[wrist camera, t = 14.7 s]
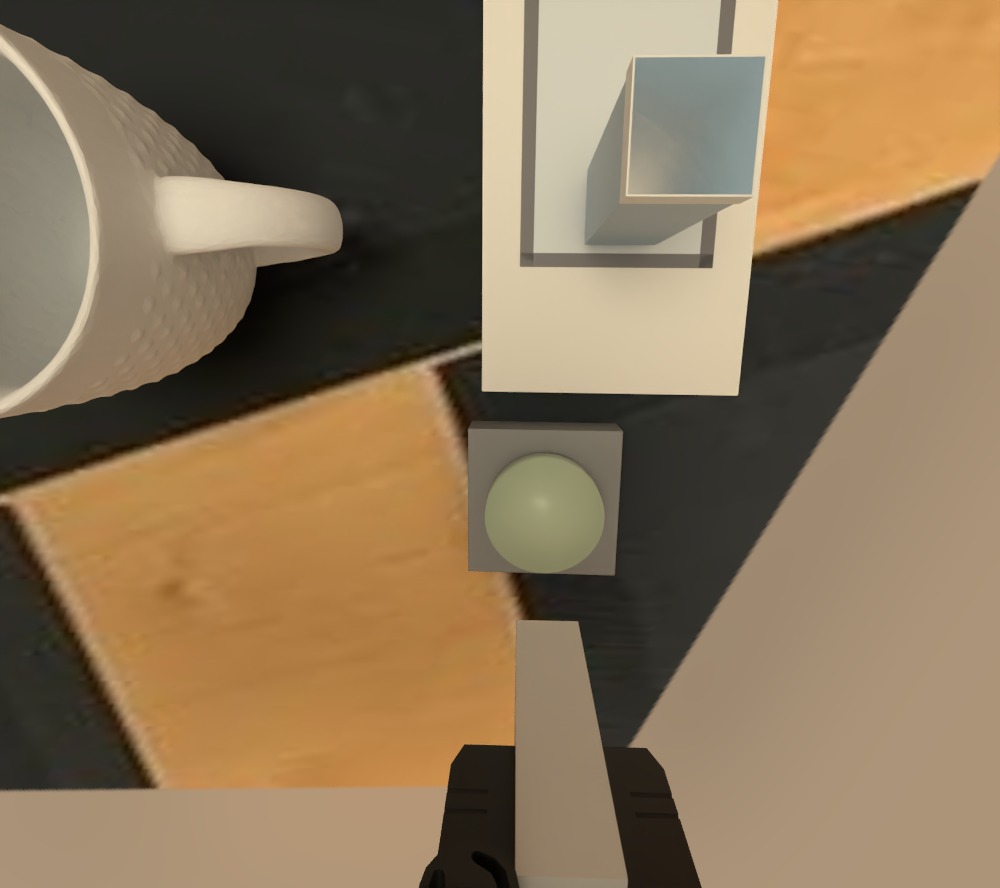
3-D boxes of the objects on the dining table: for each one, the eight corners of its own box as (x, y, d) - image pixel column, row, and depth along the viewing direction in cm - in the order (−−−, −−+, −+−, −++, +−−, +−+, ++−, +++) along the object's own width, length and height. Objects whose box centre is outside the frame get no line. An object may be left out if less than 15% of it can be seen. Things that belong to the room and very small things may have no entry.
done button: (489, 540, 29) (484, 571, 26) (490, 440, 28) (484, 458, 25) (592, 543, 29) (601, 575, 26) (597, 442, 28) (607, 461, 25)
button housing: (472, 554, 30) (468, 571, 28) (472, 420, 28) (468, 428, 26) (608, 558, 30) (614, 575, 28) (616, 423, 28) (623, 431, 26)
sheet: (482, 390, 28) (481, 391, 28) (484, -221, 23) (484, -231, 22) (735, 394, 28) (738, 395, 27) (797, -229, 22) (803, -240, 22)
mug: (365, 111, 26) (204, -88, 13) (395, 362, 28) (285, 404, 15) (44, 145, 26) (-404, -9, 14) (100, 385, 29) (-237, 443, 16)
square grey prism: (581, 248, 26) (625, 196, 14) (584, 173, 25) (633, 54, 14) (650, 248, 26) (753, 196, 14) (655, 173, 25) (768, 54, 13)
